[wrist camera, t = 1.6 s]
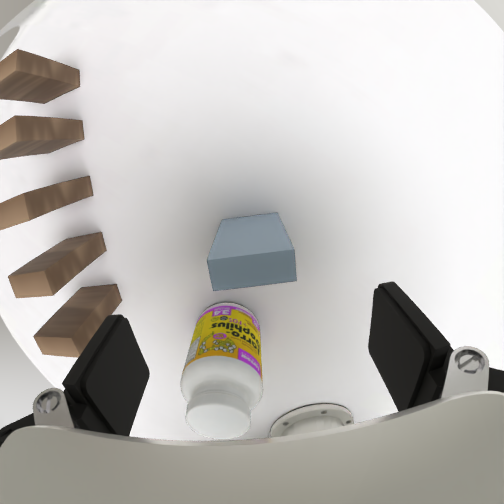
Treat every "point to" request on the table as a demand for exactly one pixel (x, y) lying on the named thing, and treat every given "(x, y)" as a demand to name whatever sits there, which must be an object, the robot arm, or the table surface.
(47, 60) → the domino
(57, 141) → the domino
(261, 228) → the domino
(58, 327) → the domino
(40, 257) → the domino
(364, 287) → the table surface
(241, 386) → the supplement bottle
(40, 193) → the domino
